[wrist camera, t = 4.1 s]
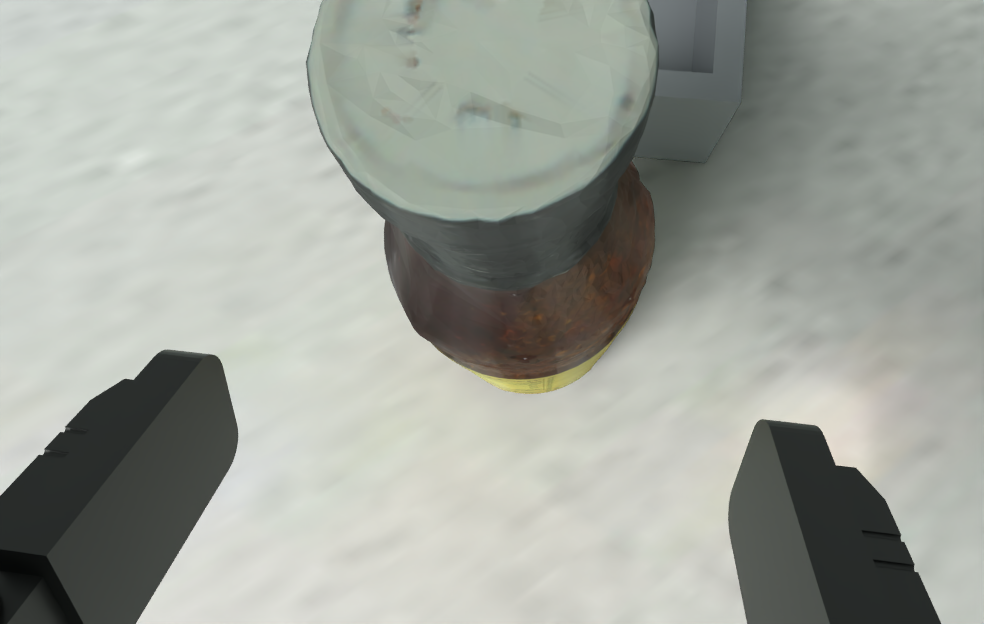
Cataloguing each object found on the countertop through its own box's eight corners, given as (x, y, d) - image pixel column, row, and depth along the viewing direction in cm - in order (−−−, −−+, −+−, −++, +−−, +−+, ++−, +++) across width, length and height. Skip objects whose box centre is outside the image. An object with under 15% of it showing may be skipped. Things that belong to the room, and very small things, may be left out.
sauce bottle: (524, 215, 28) (493, -321, 8) (641, 314, 27) (925, -38, 7) (416, 332, 27) (105, 49, 8) (532, 437, 26) (514, 424, 6)
